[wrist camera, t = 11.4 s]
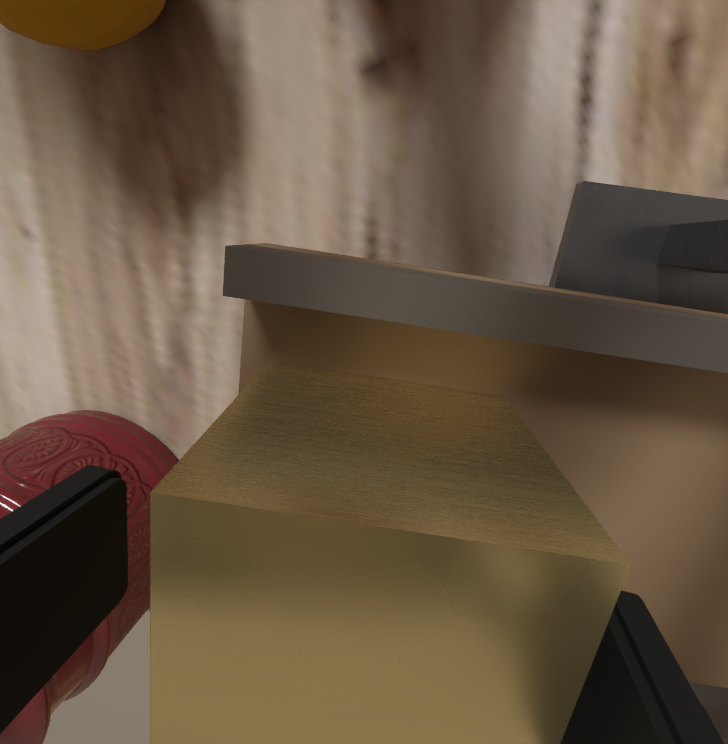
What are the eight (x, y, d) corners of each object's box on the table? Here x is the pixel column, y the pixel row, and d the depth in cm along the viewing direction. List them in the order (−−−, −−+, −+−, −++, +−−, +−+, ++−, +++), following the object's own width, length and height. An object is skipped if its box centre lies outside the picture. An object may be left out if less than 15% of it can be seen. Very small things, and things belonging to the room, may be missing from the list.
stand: (828, 217, 18) (1185, 192, 9) (660, 603, 24) (784, 806, 15) (576, 184, 19) (686, 134, 11) (475, 559, 25) (492, 724, 17)
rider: (504, 396, 11) (631, 564, 5) (455, 586, 13) (512, 862, 7) (269, 360, 11) (150, 492, 5) (252, 555, 13) (150, 810, 7)
